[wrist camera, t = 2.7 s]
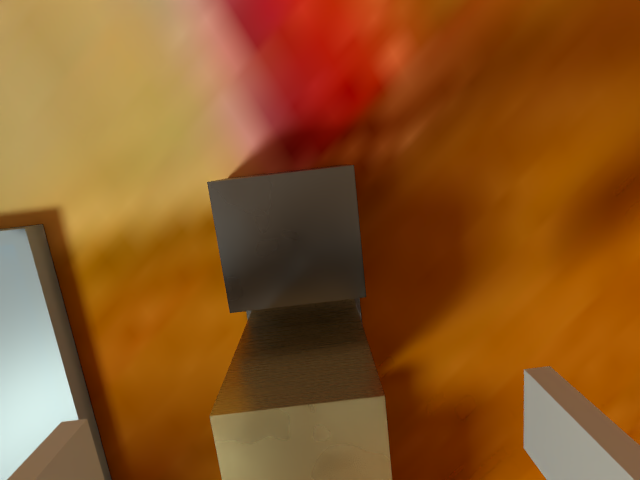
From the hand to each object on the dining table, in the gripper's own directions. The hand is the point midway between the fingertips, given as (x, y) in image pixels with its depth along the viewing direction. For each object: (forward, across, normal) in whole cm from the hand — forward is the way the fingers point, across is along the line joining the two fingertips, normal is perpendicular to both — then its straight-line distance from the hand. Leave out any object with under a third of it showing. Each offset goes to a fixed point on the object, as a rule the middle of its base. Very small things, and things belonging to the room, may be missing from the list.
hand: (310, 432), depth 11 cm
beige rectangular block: (+6, 0, 0) cm, 6 cm away
